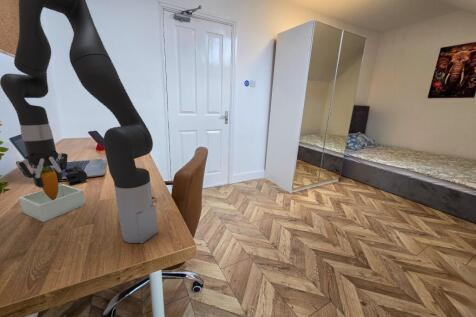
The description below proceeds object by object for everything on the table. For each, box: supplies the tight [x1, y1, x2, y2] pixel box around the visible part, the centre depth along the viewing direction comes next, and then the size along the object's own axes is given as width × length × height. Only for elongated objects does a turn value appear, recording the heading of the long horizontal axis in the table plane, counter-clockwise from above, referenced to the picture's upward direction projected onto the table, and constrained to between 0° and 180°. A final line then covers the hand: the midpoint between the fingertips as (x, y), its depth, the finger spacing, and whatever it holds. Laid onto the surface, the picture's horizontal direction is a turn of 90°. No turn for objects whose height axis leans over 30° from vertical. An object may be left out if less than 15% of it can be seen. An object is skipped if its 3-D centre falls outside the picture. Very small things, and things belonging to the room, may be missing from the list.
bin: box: [18, 183, 86, 223], centre depth 77 cm, size 13×13×6 cm
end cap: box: [64, 165, 88, 187], centre depth 102 cm, size 10×7×7 cm
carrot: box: [40, 166, 59, 200], centre depth 75 cm, size 5×5×15 cm
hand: (50, 184), depth 75 cm, fingers closed on carrot, 4 cm apart
